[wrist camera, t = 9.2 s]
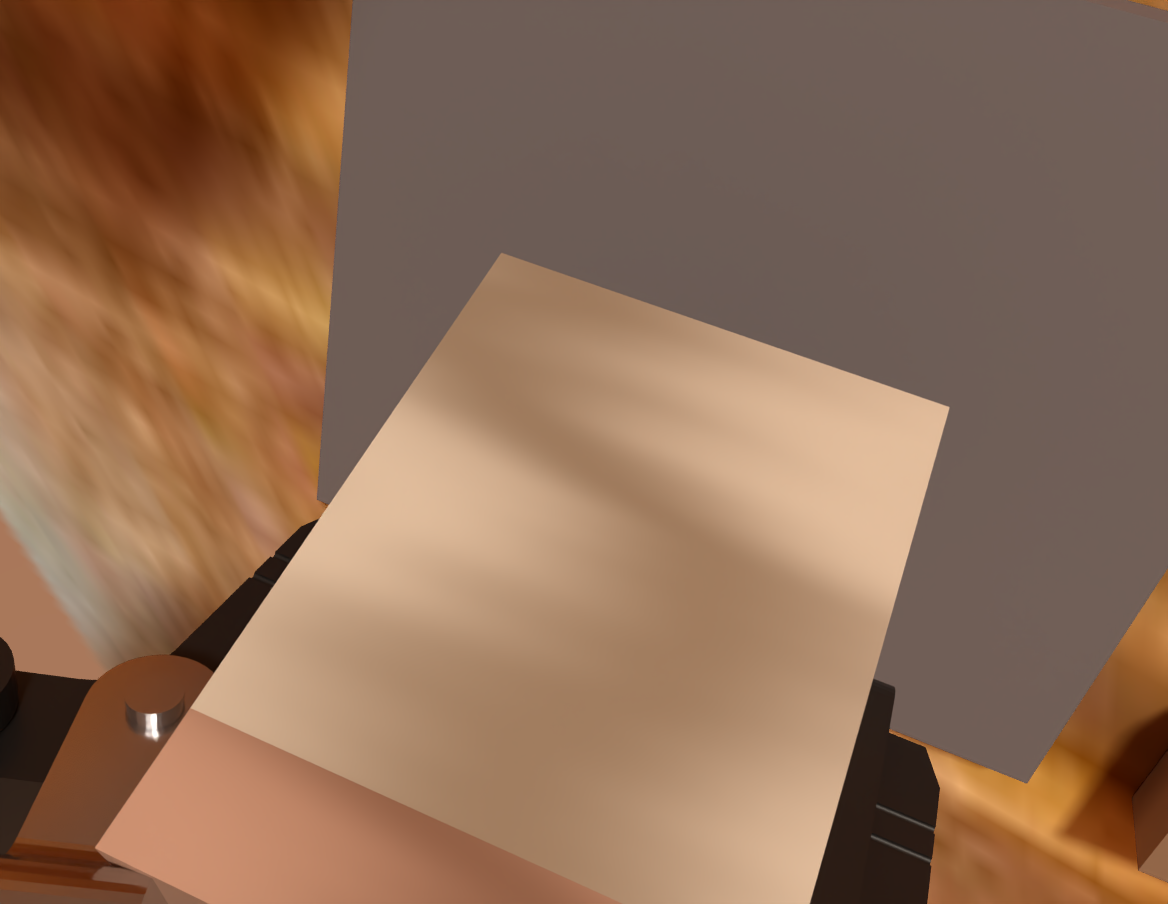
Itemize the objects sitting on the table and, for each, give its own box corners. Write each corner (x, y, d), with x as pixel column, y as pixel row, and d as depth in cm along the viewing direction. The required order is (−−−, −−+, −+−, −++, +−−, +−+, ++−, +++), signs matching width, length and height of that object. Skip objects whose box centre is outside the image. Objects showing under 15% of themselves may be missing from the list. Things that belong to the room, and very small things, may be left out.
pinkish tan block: (479, 649, 18) (128, 1178, 11) (566, 196, 14) (71, 620, 7) (768, 769, 17) (576, 1425, 10) (962, 328, 13) (853, 969, 6)
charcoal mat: (343, 474, 23) (316, 500, 22) (401, -196, 16) (366, -195, 15) (1027, 743, 20) (1027, 783, 19) (1444, 85, 13) (1470, 104, 12)
